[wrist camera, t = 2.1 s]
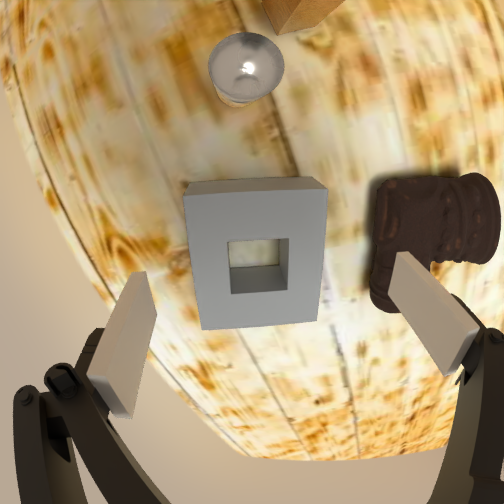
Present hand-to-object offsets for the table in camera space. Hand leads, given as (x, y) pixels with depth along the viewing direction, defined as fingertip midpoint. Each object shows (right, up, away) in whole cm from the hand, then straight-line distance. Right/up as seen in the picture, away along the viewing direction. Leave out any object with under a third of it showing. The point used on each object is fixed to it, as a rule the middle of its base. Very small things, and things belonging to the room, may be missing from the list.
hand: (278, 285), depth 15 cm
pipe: (+19, +5, +18) cm, 26 cm away
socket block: (-1, +2, +16) cm, 17 cm away
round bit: (-3, +17, +9) cm, 19 cm away
